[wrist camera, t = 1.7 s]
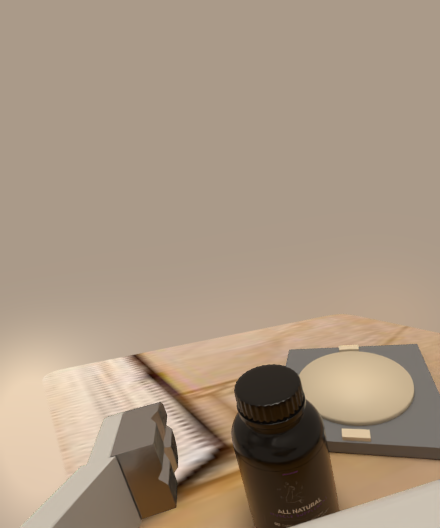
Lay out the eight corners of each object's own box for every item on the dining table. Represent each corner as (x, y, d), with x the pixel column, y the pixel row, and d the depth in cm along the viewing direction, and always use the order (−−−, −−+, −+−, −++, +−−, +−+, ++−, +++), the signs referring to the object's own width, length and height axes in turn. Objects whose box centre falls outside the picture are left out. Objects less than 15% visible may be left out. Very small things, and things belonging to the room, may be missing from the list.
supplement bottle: (308, 587, 21) (270, 436, 18) (237, 520, 26) (199, 394, 23) (358, 504, 25) (334, 370, 22) (287, 460, 30) (260, 348, 27)
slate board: (272, 447, 32) (268, 432, 32) (290, 357, 46) (288, 346, 46) (464, 461, 26) (463, 443, 26) (417, 352, 40) (416, 339, 40)
